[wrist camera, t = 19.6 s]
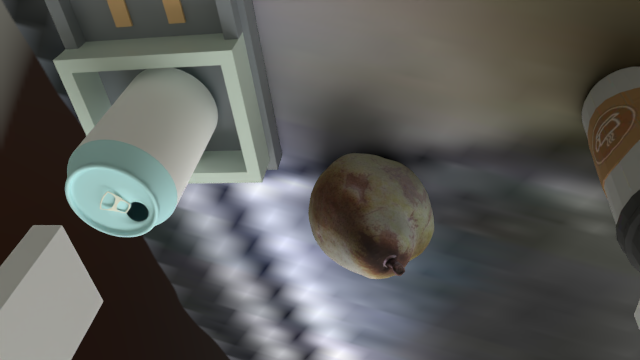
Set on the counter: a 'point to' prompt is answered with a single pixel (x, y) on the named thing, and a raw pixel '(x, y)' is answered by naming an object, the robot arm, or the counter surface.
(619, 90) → the coffee cup
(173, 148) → the can
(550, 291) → the counter surface
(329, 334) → the counter surface
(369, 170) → the fruit
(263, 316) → the counter surface
